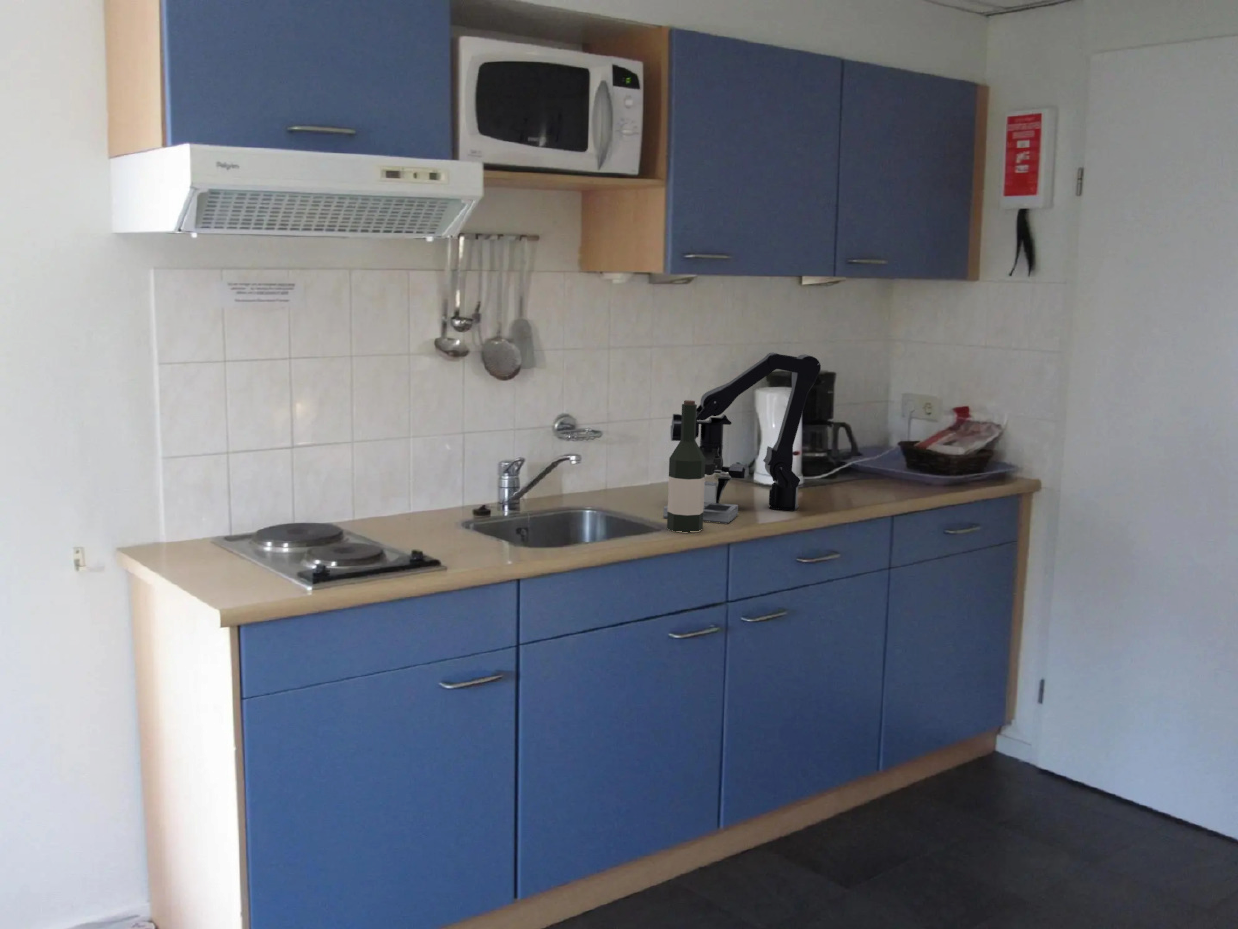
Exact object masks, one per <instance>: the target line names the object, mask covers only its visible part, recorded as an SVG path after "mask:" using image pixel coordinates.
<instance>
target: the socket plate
mask: <svg viewBox="0 0 1238 929" xmlns="http://www.w3.org/2000/svg"><path fill="white" fill-rule="evenodd" d="M667 513H668V504H667V505H665V506H664V507H663V512H662V515H663V516H662V517H664V518H663V519H667ZM737 515H738V516H739V504H732V503H731V504H730V503H721V502H719V503H709V502H704V508H703V521H710V522H709V523H711V522H720V523H719V524H722V523H729V522H730V521H731V522H732V521H733V520H734V519H735V518H737V517H736V516H737ZM731 522H730V523H731ZM730 523H729V524H730Z"/></svg>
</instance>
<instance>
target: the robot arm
mask: <svg viewBox="0 0 1238 929" xmlns="http://www.w3.org/2000/svg"><path fill="white" fill-rule="evenodd" d="M821 368H822V365H821V363H820V361H819V359H818V358H816V357H815V356H812V355H811V354H807V353H806V354H804V353H803V354H800V355H798V356H793V355H787V354H779V353H777V352H768V353H766V355H765V356H764V357H763V358H762V359H760V360H759V361H757V362H756V363H754V364H753V365H752V366H750V367H749V368H747V369H746V370H745V371H743V372H742V373H741V374H739V375H738V376H736V377H735V378H732V380H730V381H729V382H727V383H725V384H721V385H719V386H717V387H715V388H712V389H710V390H708V391H706V392H705V393H703V395H702V396H701V398H700V404H699V405H697V414H696V438H699V437H700V438H699V439H700V440H699V445H698V446H699V448H700V450H701V452H702V454H703V455H704V457H705V476H712V475H714V474H720V476H719V477H717V483H718V489H717V496H716V503H720V500H721V498H722V495H723V493H724V490H725V488H726V486H727V485H728V482H730V481H732V479H740V480H742V479H746V478H747V477H748V476H749V473H750V468H749V465H747V464H744V463H741V464H740V463H733V464H731V465H729V466H726V465H725V466H724V458H723V449H724V426H727V425H728V426H729V425H732V421H731V420H730V419H728V417H727V415H726V414H723V413H724V412H725V411H726V410H727V409H728V408H729V407H730V406H731V405H732V404H733V403H734V401H735V400H736V399H737V398H738V397H739V396H740V395H741V394H743V393H744V392H746V391H747V390H749V389H750V388H751V387H753V386H754V385H756V384H757V383H759V382H760V381H761V380H763V379H764V378H766V377H767V376H768V375H770V374H771V373H773V372H774V371H776V370H779V371H785V372H789V373H791V389H790V393H789V397H788V400H787V405H786V407H785V410H784V415H783V418H782V421H781V426H780V429H779V431H778V432H779V433H778V435H777V436H778V437H777V438H776V442H775V444H774V445H773V446H772V447H771V446H768V445H767V447H766V454H765V457H764V459H763V460H762V462H763V463H764V469H765V472H766V473H767V474H768V475H769V476H771V478H772V481H773V482H772V484H771V488H770V489H769V491H768V492H769V493H768V494H769V495H768V496H769V497H768V505H769V507H768V508H769V509H770V510H778V509H780V510H781V511H790V510H791V511H792V512H795V511H796V510H797V509H798V508H799V504H798V501H799V500H798V496H799V484H800V482H801V479H800V478H799V477H798V475H797V474H796V473H795V472H794V471H793V464H794V462H793V461H794V444H795V441H796V436H797V433H798V430H799V426H800V423H801V419H802V416H803V412H804V408H805V405H806V401H807V398H808V394H809V393H810V391H811V389H812V388H813V386H814V384H815V383H816V380H817V379H818V377H819V374H820V372H821ZM720 415H722V416H720ZM681 418H682V414H680V413H672V419H671V425H670V441H671V442H680V441H681ZM707 419H708V420H707ZM699 427H700V428H699ZM699 430H700V431H699ZM699 433H700V435H699Z"/></svg>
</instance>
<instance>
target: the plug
mask: <svg viewBox="0 0 1238 929" xmlns="http://www.w3.org/2000/svg"><path fill="white" fill-rule="evenodd" d="M717 489H718V481H708V480H707V481H706V480H705V483H704V502H709V503H716V496H717Z"/></svg>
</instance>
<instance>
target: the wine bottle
mask: <svg viewBox="0 0 1238 929" xmlns="http://www.w3.org/2000/svg"><path fill="white" fill-rule="evenodd" d="M697 408H698V404H696V400H692V399H691V400H690V399H688V400H687V399H685V400H683V403H682V404H681V415H682V418H681V441H678V444H677V446H676V447H675V448H674V450H673V452H672V453H671V455H670V456H669V459H668V488H667V490H668V491H667V496H668V497H667V505H668V513H667V518H666V529H667V528H668V529H670V530H673V531H682V532H690V531H699V530H701V529H703V530H704V522H703V508H704V483H705V481H706V480H705V479H706V478H705V477H706V474H705V457H704V455H703V454H702V452H701V450H700V448H699V446H700V445H698V443H697V440H696V439H697V437H696V414H697ZM668 529H667V530H668ZM670 530H669V531H670ZM701 531H702V530H701Z"/></svg>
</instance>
